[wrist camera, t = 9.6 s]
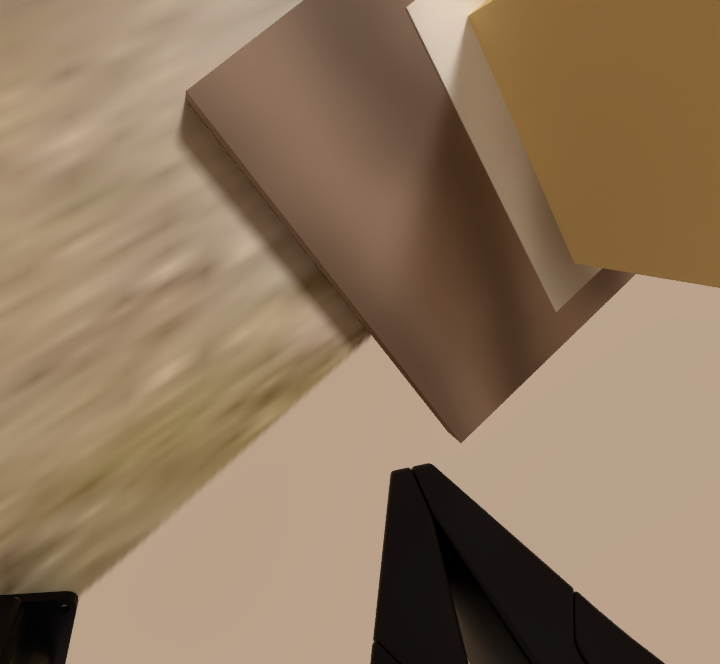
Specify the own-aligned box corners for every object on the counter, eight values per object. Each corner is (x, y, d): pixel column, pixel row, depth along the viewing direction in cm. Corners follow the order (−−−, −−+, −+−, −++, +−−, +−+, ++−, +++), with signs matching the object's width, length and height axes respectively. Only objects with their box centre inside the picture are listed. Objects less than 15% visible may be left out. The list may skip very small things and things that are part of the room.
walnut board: (448, 431, 23) (461, 443, 22) (185, 98, 15) (186, 90, 13) (748, 143, 26) (773, 141, 25) (677, -283, 17) (711, -316, 16)
